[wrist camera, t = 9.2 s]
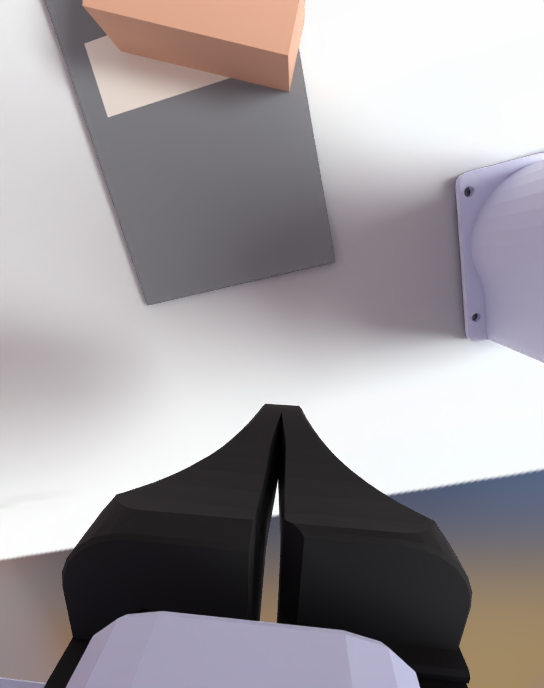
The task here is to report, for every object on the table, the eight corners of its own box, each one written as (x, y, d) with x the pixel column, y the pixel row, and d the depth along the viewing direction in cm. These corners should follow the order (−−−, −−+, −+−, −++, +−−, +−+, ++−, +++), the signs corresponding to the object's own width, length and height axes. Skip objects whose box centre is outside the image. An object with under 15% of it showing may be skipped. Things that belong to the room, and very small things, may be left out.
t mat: (334, 261, 18) (335, 261, 18) (150, 304, 20) (147, 305, 20) (254, -201, 13) (253, -216, 13) (16, -97, 15) (9, -106, 14)
